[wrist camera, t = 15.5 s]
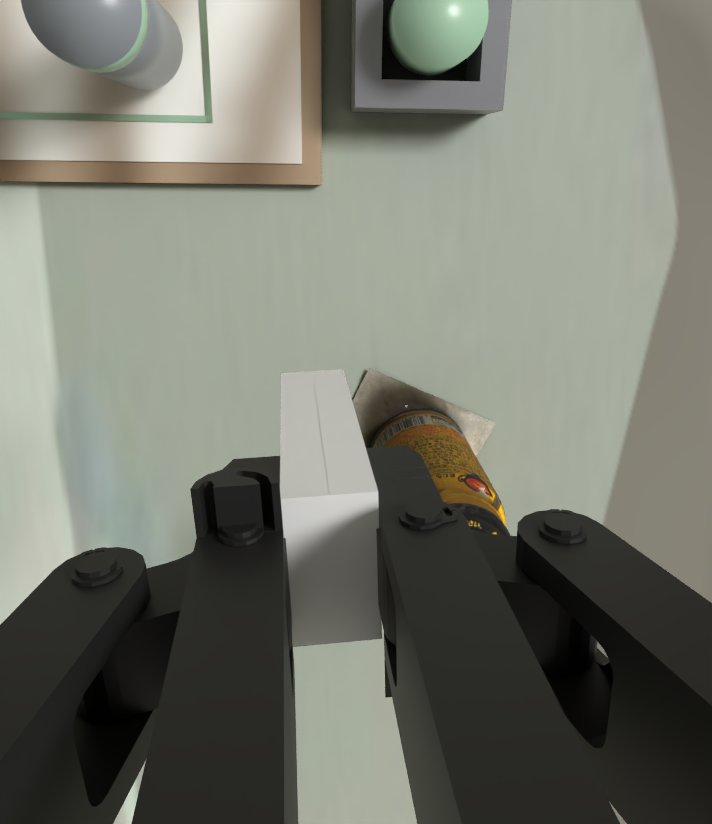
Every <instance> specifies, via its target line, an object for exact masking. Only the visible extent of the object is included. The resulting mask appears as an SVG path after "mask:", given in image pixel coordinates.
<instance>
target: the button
mask: <svg viewBox="0 0 712 824" xmlns="http://www.w3.org/2000/svg"><path fill="white" fill-rule="evenodd" d="M488 13H489V9H488V0H394V2H393V4H392V6H391V8H390V11H389V15H388V20H387V36H388V41H389V45H390V48H391V50H392V52H393V54H394V56H395V57H396V59H397V60H398V61H399V62H400V63H401V64H402V65H403V66H404V67H405V68H406V69H408V70H410V71H411V72H413V73H416V74H419V75H425V76H432V75H438V74H441V73H444V72H446V71H448V70H449V69H451V68H453V67H454V66H456V65H457V64H459V63H460V62H462V61H463V60H465V59H466V58H468V57H469V56H470V55H471V54H472V53H473V52H474V51H475V50H476V48H477V47H478V45H479V44H480V42H481V40H482V38H483V36H484V34H485V31H486V28H487V23H488Z"/></svg>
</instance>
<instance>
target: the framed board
mask: <svg viewBox="0 0 712 824" xmlns="http://www.w3.org/2000/svg"><path fill="white" fill-rule="evenodd" d="M157 1H158V2H159V3H160V4H161V5H162V6H163V7H164V8H165V9H166V10H167V12H168V13H169V14H170V15H171V16H172V18H173V19H174V21H175V22H176V24H177V26H178V28H179V31H180V34H181V38H182V43H183V55H182V61H181V64H180V67H179V69H178V71H177V73H176V74H175V76H174V77H173V78H172V79H171V80H170V81H169V82H168V83H167V84H165V85H164V86H162V87H160V88H157V89H153V90H138V89H134V88H131V87H128V86H126V85H123V84H121V83H119V82H116V81H114V80H111V79H109V78H106V77H104V76H102V75H99V74H97V73H94V72H91V71H86V70H84V69H81V68H78V67H76V66H74V65H71V64H69V63H67V62H65V61H63V60H62V59H60V58H59V57H57V56H56V55H54V54H53V53H51V52H50V51H49V50H48V49H47V48H45V47H44V46H43V45H42V43H41V42H40V41H39V40H38V39H37V38H36V36H35V35H34V33H33V32H32V30H31V28H30V27H29V25H28V23H27V20H26V18H25V15H24V12H23V9H22V4H21V0H0V181H37V182H125V183H212V184H300V185H322V102H321V0H157Z"/></svg>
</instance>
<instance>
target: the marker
mask: <svg viewBox="0 0 712 824" xmlns="http://www.w3.org/2000/svg"><path fill="white" fill-rule="evenodd" d="M21 4H22V9H23V12H24V15H25V18H26V20H27V23H28V25H29V27H30V28H31V30H32V32H33V33H34V35H35V36H36V38H37V39H38V40H39V41H40V42H41V43H42V45H43V46H44V47H45V48H47V49H48V50H49V51H50V52H51V53H53V54H54V55H56V56H57V57H59V58H60V59H62V60H63V61H65V62H67V63H69V64H71V65H74V66H76V67H78V68H81V69H84V70H86V71H91V72H94V73H97V74H99V75H102V76H104V77H106V78H109V79H111V80H114V81H116V82H119V83H121V84H123V85H126V86H128V87H131V88H134V89H138V90H153V89H157V88H160V87H162V86H164V85H165V84H167V83H168V82H169V81H170V80H171V79H172V78H173V77H174V76H175V74H176V73H177V71H178V69H179V67H180V64H181V61H182V55H183V43H182V38H181V34H180V31H179V28H178V26H177V24H176V22H175V21H174V19H173V18H172V16H171V15H170V14H169V13H168V12H167V10H166V9H165V8H164V7H163V6H162V5H161V4H160V3H159V2H158V1H157V0H21Z"/></svg>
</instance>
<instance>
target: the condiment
mask: <svg viewBox="0 0 712 824" xmlns="http://www.w3.org/2000/svg"><path fill="white" fill-rule="evenodd" d="M352 402H353V405H354V409H355V412H356V416H357V419H358V423H359V426H360V430H361V433H362V437H363V440H364V444H365V447H366V448H374V447H388V446H403V445H407V446H408V447H410V448H411V449H413V450H415V451H416V452H418V453H419V454H421V456H422V458H423V460H424V462H425V464H426V466H427V469H428V470H429V473H430V475H431V478H432V479H433V481H434V483H435V485H436V487H437V490H438V492H439V494H440V496H441V498H442V500H443V502H444V503H447V504H449V505H451V506H453V507H455V508H458V510H459V511H460V512H461V513H462V514H463V515H464V516H465V518H466V520H467V522H468V524H469V526H470V528H471V529H472V530H476V531H479V532H483V533H490V534H497V535H507V536H510V534H509V532H508V530H507V528H506V525H505V512H504V509H503V506H502V504H501V501H500V499H499V497H498V495H497V493H496V491H495V490H494V488H493V487H492V485H491V483H490V481H489V479H488V477H487V475H486V474H485V472H484V470H483V468H482V466H481V465H480V463H479V461H478V459H477V457H476V456H477V454H478V453H479V451H480V450H481V448H482V446H483V445H484V443H485V441H486V440H487V438H488V436H489V435H490V433H491V431H492V429H493V427H494V426H495V424H496V423H494V422H492V421H489V420H487V419H485V418H483V417H480V416H478V415H476V414H474V413H472V412H469V411H467V410H464V409H462V408H460V407H458V406H456V405H454V404H452V403H449V402H446V401H444V400H442V399H440V398H437V397H435V396H433V395H431V394H428V393H425V392H423V391H420V390H418V389H416V388H414V387H412V386H410V385H407V384H405V383H403V382H401V381H399V380H396V379H394V378H391V377H388V376H386V375H384V374H382V373H379V372H377V371H375V370H373V369H370V368H369V370H368V371H367V373H366V375H365V377H364V380H363V381H362V383H361V385H360V387H359V389H358V391H357V393H356V395H355V397H354V399H353V401H352ZM405 405H408V407H407V408H406V407H405Z"/></svg>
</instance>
